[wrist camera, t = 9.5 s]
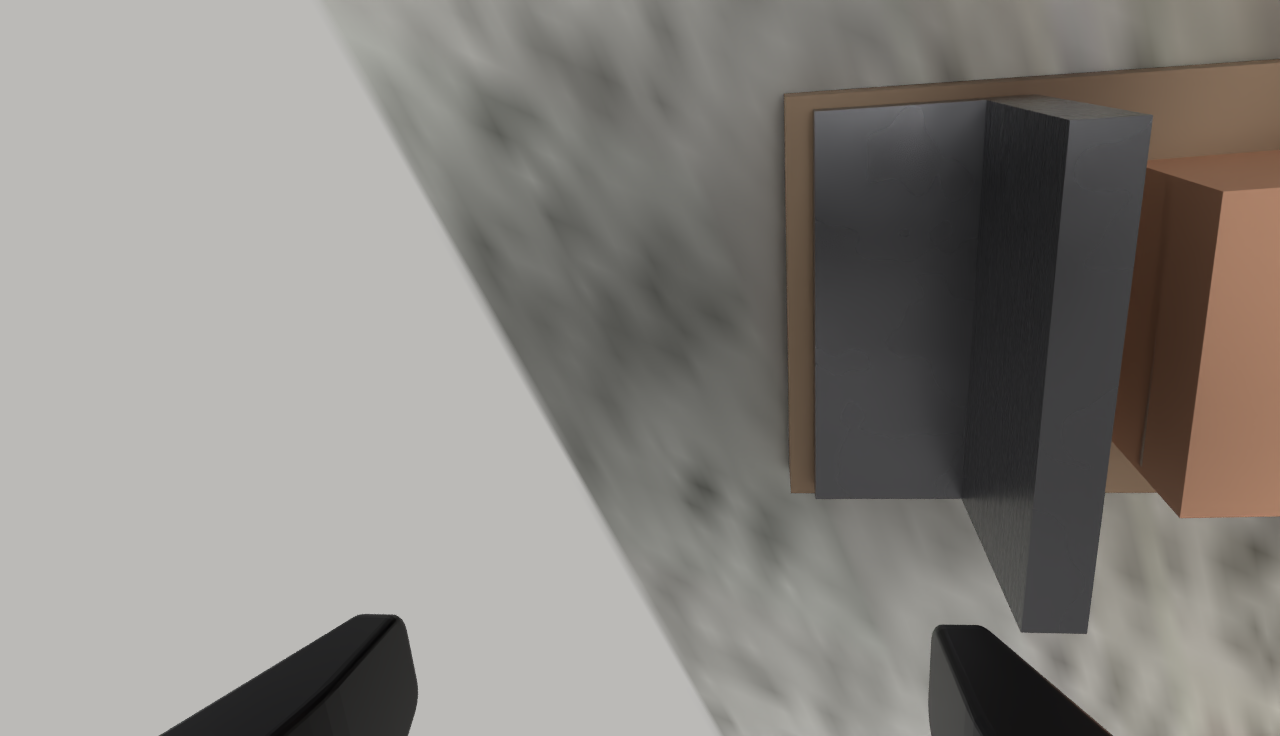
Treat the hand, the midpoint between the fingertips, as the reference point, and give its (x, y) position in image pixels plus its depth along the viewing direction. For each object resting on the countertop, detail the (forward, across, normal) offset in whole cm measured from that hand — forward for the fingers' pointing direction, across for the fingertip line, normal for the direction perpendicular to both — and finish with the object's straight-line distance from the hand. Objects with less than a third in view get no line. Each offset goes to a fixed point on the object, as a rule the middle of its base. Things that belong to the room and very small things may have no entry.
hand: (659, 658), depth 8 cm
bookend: (+11, -4, 0) cm, 11 cm away
